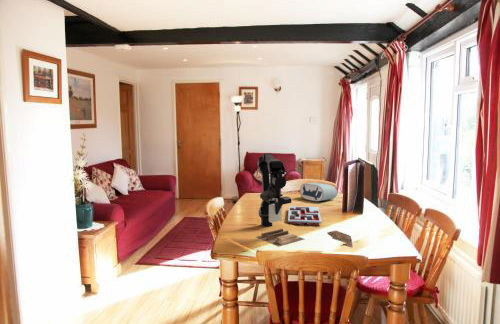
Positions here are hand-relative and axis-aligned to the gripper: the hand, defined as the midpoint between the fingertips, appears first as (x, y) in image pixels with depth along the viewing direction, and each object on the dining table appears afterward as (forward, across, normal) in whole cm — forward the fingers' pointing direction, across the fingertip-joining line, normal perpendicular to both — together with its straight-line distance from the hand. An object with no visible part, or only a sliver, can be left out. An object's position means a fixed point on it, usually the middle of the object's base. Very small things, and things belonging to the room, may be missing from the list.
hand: (275, 214), depth 186 cm
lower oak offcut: (+12, +10, 0) cm, 15 cm away
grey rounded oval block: (+13, -49, +87) cm, 101 cm away
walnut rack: (+13, +4, 0) cm, 13 cm away
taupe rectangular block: (+4, 0, 0) cm, 4 cm away
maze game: (+13, -19, +40) cm, 47 cm away
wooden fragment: (+13, +22, +27) cm, 37 cm away
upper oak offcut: (+11, +10, 0) cm, 14 cm away
